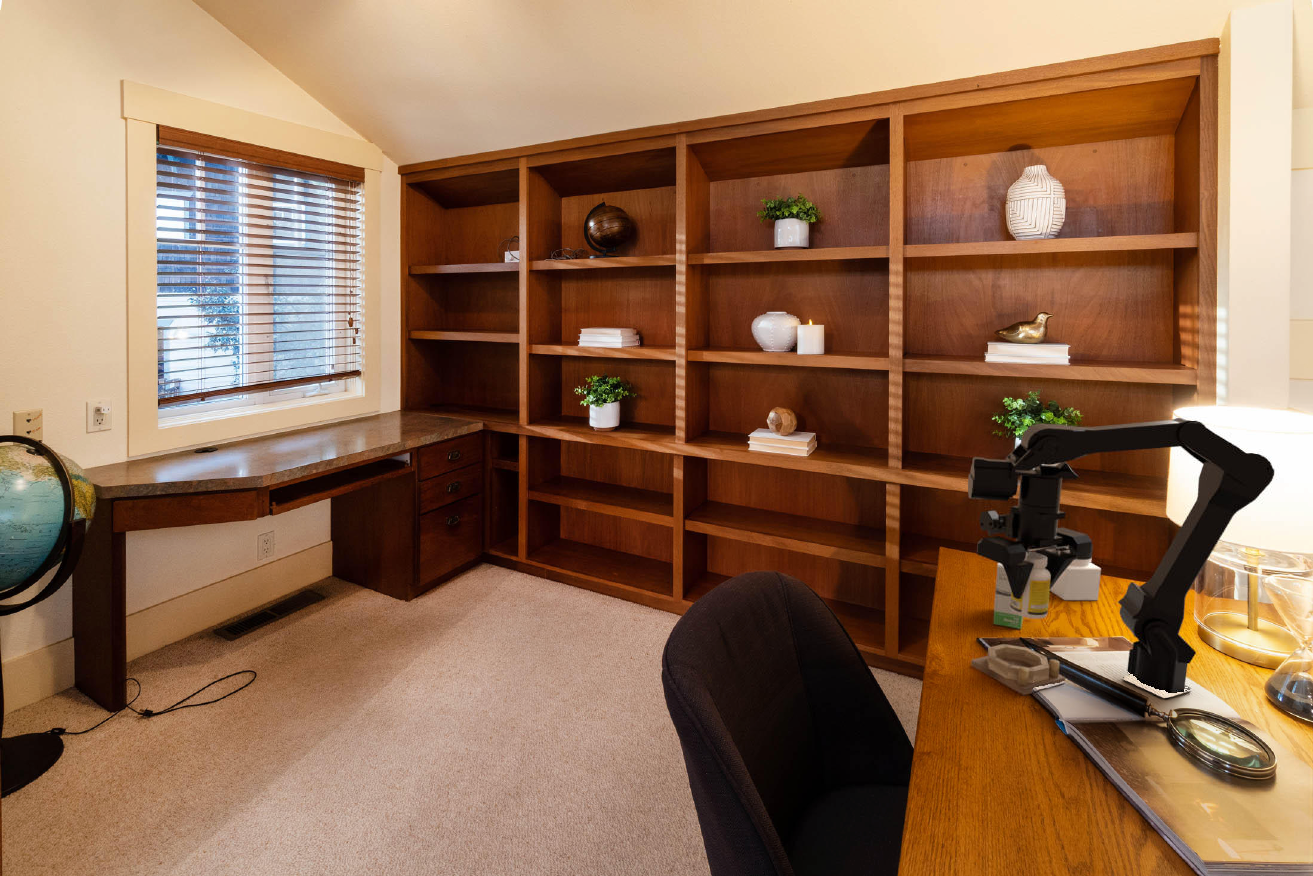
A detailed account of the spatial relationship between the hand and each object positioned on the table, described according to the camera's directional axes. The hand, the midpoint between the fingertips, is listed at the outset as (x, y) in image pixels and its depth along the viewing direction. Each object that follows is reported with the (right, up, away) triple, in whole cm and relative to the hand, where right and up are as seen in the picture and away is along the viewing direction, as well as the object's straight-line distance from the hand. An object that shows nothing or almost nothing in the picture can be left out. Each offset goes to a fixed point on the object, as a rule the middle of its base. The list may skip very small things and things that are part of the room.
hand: (1029, 595), depth 107 cm
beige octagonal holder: (-2, -13, 0) cm, 13 cm away
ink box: (+8, -10, +21) cm, 24 cm away
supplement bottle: (0, -3, +1) cm, 3 cm away
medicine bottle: (+28, -8, +33) cm, 44 cm away
